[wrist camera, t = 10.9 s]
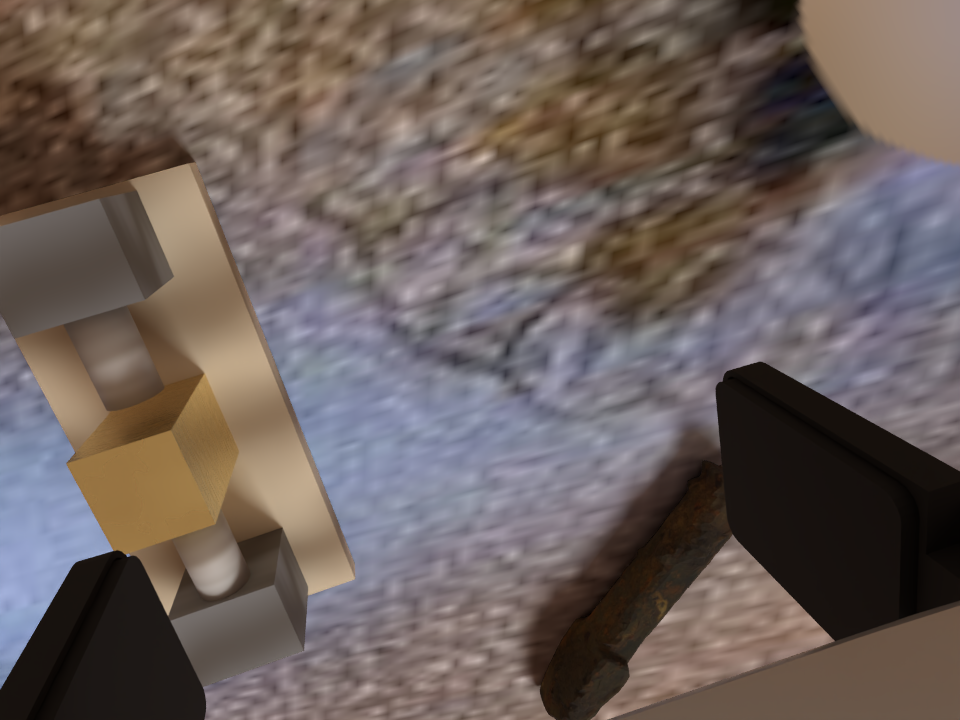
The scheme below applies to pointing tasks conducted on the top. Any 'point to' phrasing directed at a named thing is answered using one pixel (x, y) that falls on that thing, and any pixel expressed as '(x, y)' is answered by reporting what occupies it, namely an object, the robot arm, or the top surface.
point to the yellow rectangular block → (158, 466)
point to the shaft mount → (168, 359)
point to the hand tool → (637, 602)
